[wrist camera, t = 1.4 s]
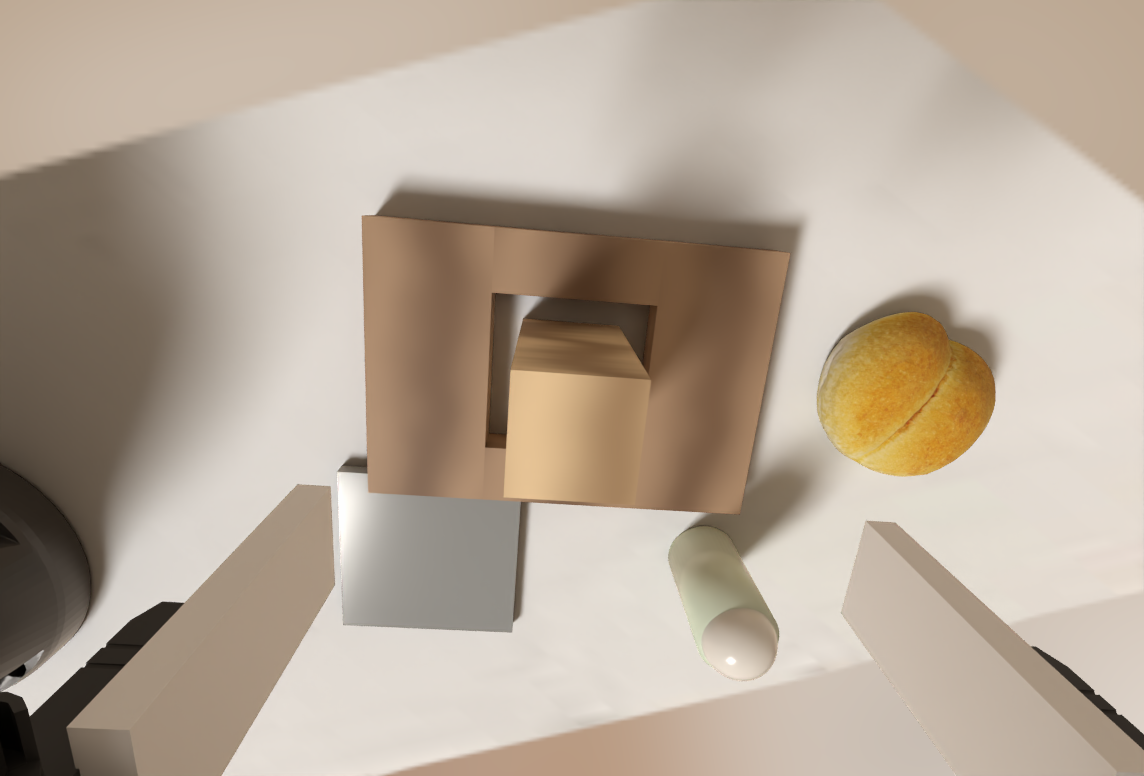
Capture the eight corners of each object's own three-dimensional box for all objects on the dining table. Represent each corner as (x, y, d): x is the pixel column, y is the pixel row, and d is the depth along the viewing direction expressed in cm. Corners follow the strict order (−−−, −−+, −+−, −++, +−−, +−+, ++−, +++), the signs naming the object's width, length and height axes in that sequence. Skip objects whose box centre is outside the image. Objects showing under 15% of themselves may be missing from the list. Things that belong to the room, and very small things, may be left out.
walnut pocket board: (378, 475, 32) (368, 492, 30) (374, 215, 28) (361, 215, 26) (728, 496, 33) (739, 514, 31) (774, 250, 29) (790, 253, 27)
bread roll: (879, 282, 30) (928, 292, 26) (992, 376, 32) (1053, 398, 28) (776, 404, 32) (807, 430, 28) (888, 486, 33) (932, 522, 30)
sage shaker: (664, 581, 34) (700, 701, 26) (673, 524, 33) (714, 629, 25) (728, 585, 35) (785, 704, 26) (739, 527, 34) (802, 633, 25)
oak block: (517, 409, 31) (503, 497, 21) (523, 318, 29) (510, 369, 20) (608, 415, 31) (634, 505, 22) (618, 325, 30) (651, 379, 20)
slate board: (347, 615, 34) (343, 624, 34) (342, 465, 31) (337, 471, 31) (512, 623, 35) (512, 632, 34) (522, 476, 32) (521, 482, 31)
